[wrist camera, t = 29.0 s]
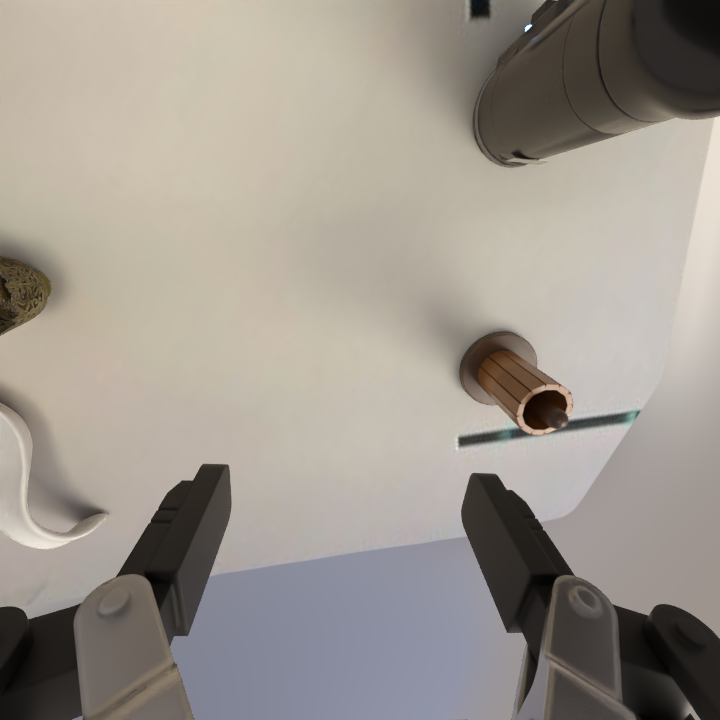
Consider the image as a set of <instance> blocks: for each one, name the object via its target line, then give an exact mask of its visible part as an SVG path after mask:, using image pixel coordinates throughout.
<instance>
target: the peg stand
mask: <svg viewBox="0 0 720 720" xmlns="http://www.w3.org/2000/svg"><path fill="white" fill-rule="evenodd" d="M500 350H504V351H512V352H514V353H515V354H517V355H518V356H520V357H521V358H522V359H524V360H525V361H527V362H528V363H530V364H531V365H533V366H534V367H536V368H537V357H536V353H535V351H534V349H533V347H532V346H531V345H530V343H528V342H527V341H526V340H525V339H523V338H521V337H520V336H518V335H515V334H513V333H508V332H498V333H493V334H489V335H487V336H485V337H483V338H481V339H479V340H478V341H477V342H475V343H474V344H473V345H472V346H471V347H470V348H469V349H468V351H467V352H466V354H465V355H464V357H463V360H462V362H461V366H460V380H461V383H462V386H463V388H464V389H465V391H466V392H467V393H468V394H469V395H470V396H471V397H472V398H473V399H474V400H476V401H478V402H480V403H483V404H487V405H498V404H497V403H496V402H495V401H494V400H493V399H492V398H491V397H490V396H489V395H488V394H487V393H486V392H485V391H484V390H483V389H482V388H481V386H480V384H479V382H478V379H477V374H478V369H479V366H480V364H481V363H482V362H483V361H484V359H485V358H486V357H488V355H490V354H492V353H494V352H496V351H500ZM525 405H526V406H527V407H528V408H529V409H531V410H532V411H533V412H534V413H535V414H536V415H537V416H538V417H539V418H541V419H542V420H543V421H544V422H545V423H546V424H547V425H548V426H550V427H551V428H553V429H562V428H564V427H565V426H566V425H567V424H568V416H567V414H566V413H565V412H564V411H563V410H561V409H560V408H559V407H558V406H556V405H555V404H554V403H553V402H551V401H550V400H549V399H547V398H546V397H545V396H544V395H542V394H541V393H538V394H536V395H533V396H532V398H531V399H530V400H529V401H528V402H527V403H526V404H525Z"/></svg>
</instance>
